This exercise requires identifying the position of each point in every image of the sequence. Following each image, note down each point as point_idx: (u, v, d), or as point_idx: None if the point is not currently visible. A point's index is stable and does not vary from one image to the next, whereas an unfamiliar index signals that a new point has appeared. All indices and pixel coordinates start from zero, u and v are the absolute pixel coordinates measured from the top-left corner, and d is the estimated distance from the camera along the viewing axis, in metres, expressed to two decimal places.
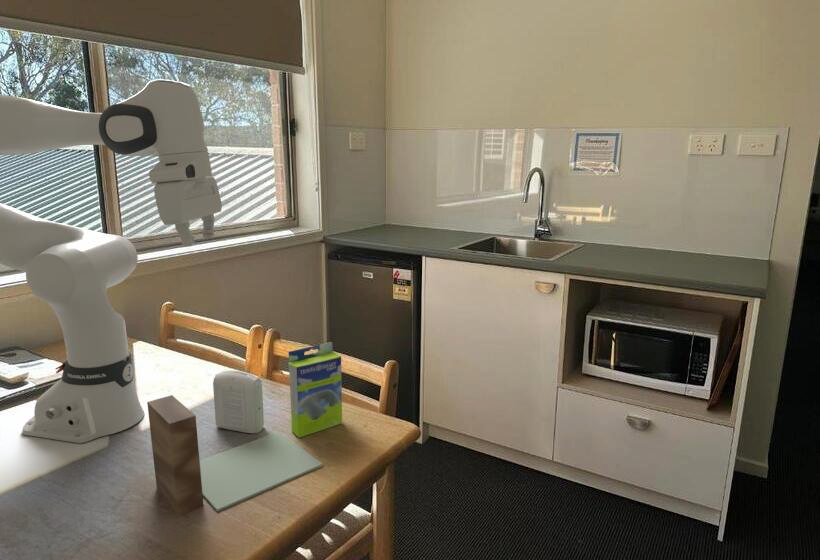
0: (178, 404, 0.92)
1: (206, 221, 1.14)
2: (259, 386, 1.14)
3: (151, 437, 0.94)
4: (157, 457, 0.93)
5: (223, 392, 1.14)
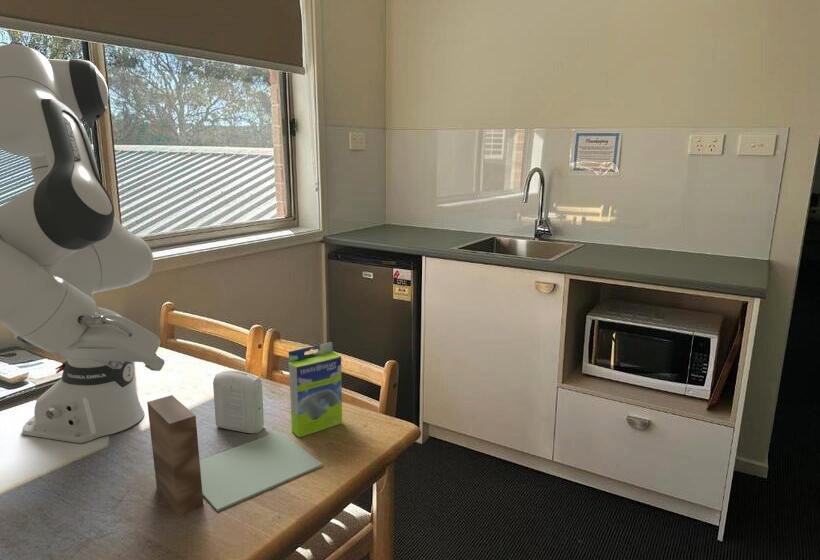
0: (178, 404, 0.92)
1: None
2: (259, 386, 1.14)
3: (151, 437, 0.94)
4: (157, 457, 0.93)
5: (223, 392, 1.14)
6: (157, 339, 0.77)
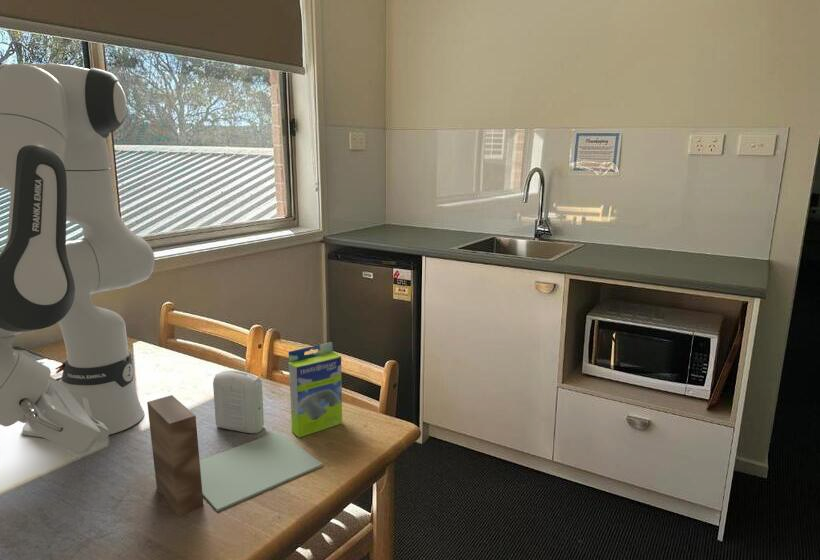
0: (178, 404, 0.92)
1: None
2: (259, 386, 1.14)
3: (151, 437, 0.94)
4: (157, 457, 0.93)
5: (223, 392, 1.14)
6: (94, 433, 0.73)
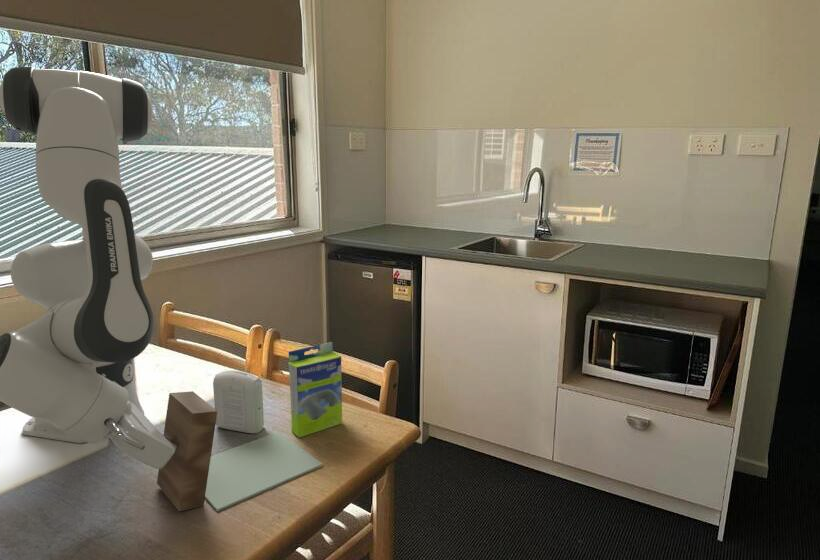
0: (199, 400, 0.94)
1: None
2: (259, 386, 1.14)
3: (164, 429, 0.95)
4: None
5: (223, 392, 1.14)
6: (170, 450, 0.81)
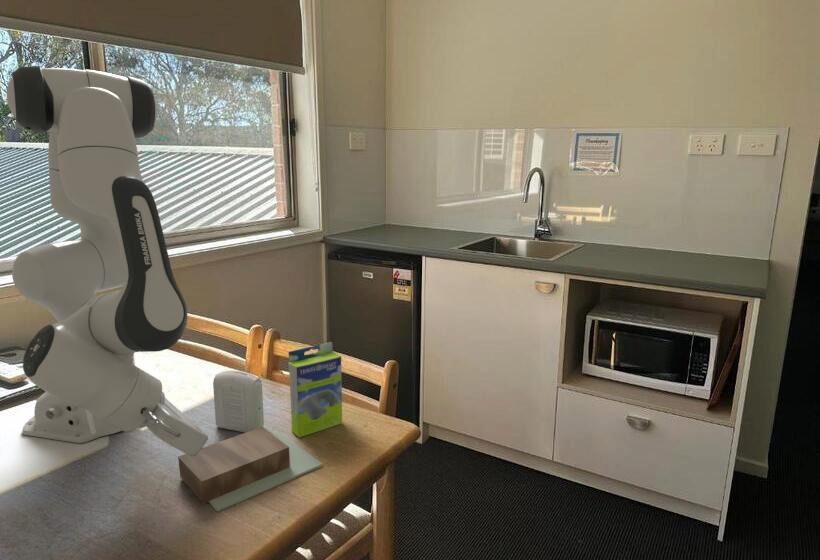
0: None
1: None
2: (259, 386, 1.14)
3: (231, 438, 1.04)
4: (221, 447, 1.01)
5: (223, 392, 1.14)
6: (204, 438, 0.84)
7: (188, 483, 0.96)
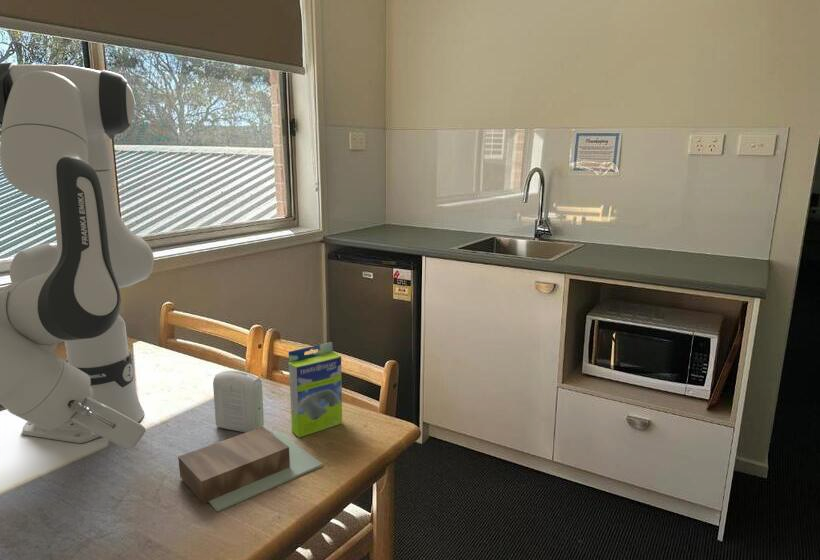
0: None
1: None
2: (259, 386, 1.14)
3: (231, 438, 1.04)
4: (221, 447, 1.01)
5: (223, 392, 1.14)
6: (141, 429, 0.79)
7: (188, 483, 0.96)
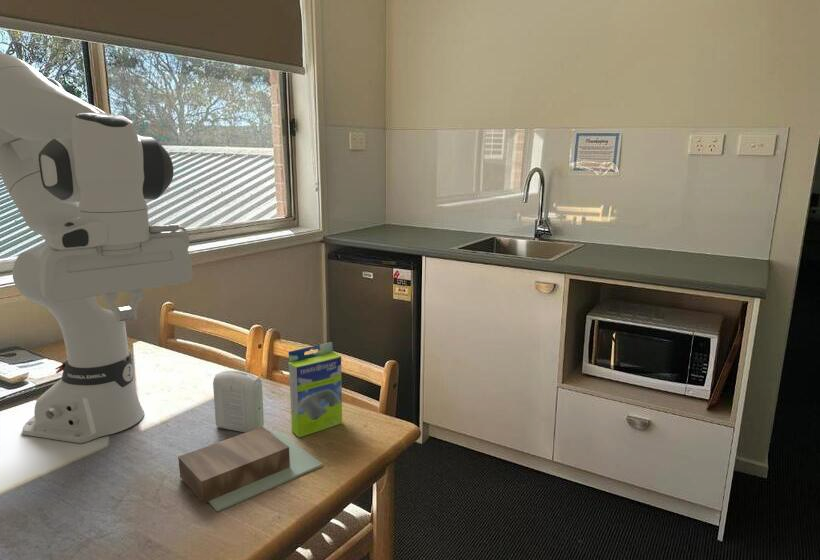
0: None
1: (134, 296, 0.86)
2: (259, 386, 1.14)
3: (231, 438, 1.04)
4: (221, 447, 1.01)
5: (223, 392, 1.14)
6: None
7: (188, 483, 0.96)
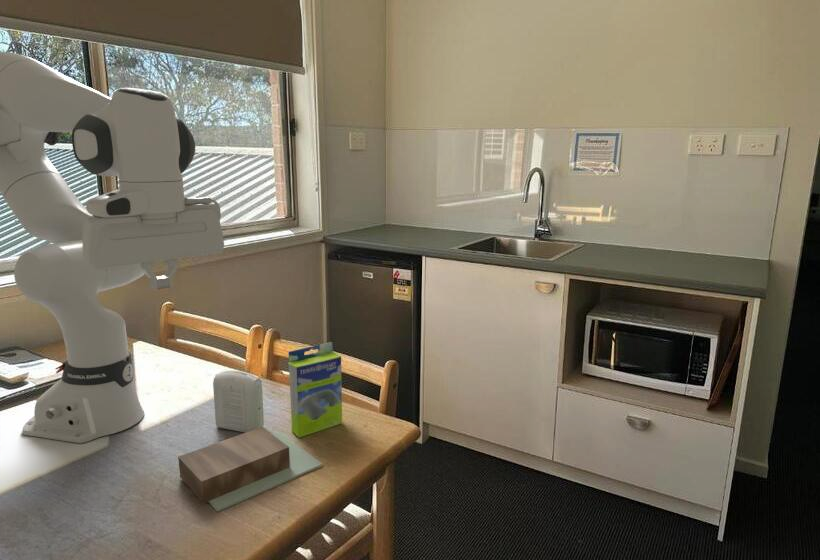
0: None
1: (169, 266, 0.89)
2: (259, 386, 1.14)
3: (231, 438, 1.04)
4: (221, 447, 1.01)
5: (223, 392, 1.14)
6: None
7: (188, 483, 0.96)
